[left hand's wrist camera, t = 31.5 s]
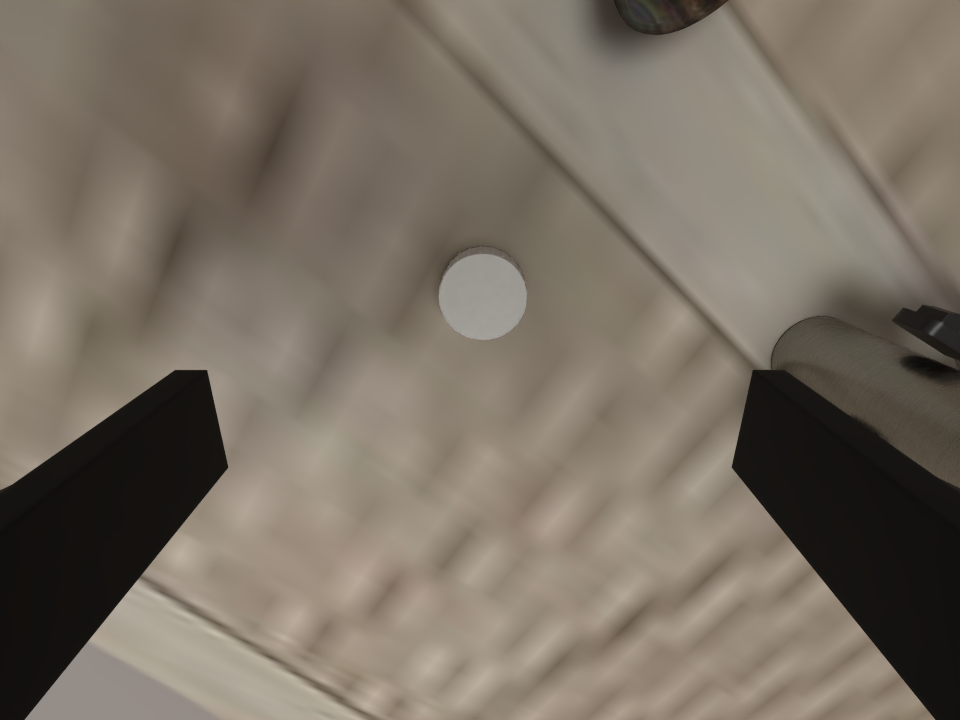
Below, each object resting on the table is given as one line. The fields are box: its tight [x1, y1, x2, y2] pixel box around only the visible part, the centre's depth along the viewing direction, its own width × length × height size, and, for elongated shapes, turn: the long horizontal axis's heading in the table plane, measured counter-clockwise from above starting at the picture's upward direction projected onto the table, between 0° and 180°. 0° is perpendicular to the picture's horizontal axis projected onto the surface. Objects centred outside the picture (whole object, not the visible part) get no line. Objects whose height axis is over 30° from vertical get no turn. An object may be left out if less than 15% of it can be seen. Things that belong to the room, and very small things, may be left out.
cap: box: [438, 246, 528, 340], centre depth 28 cm, size 5×5×3 cm
